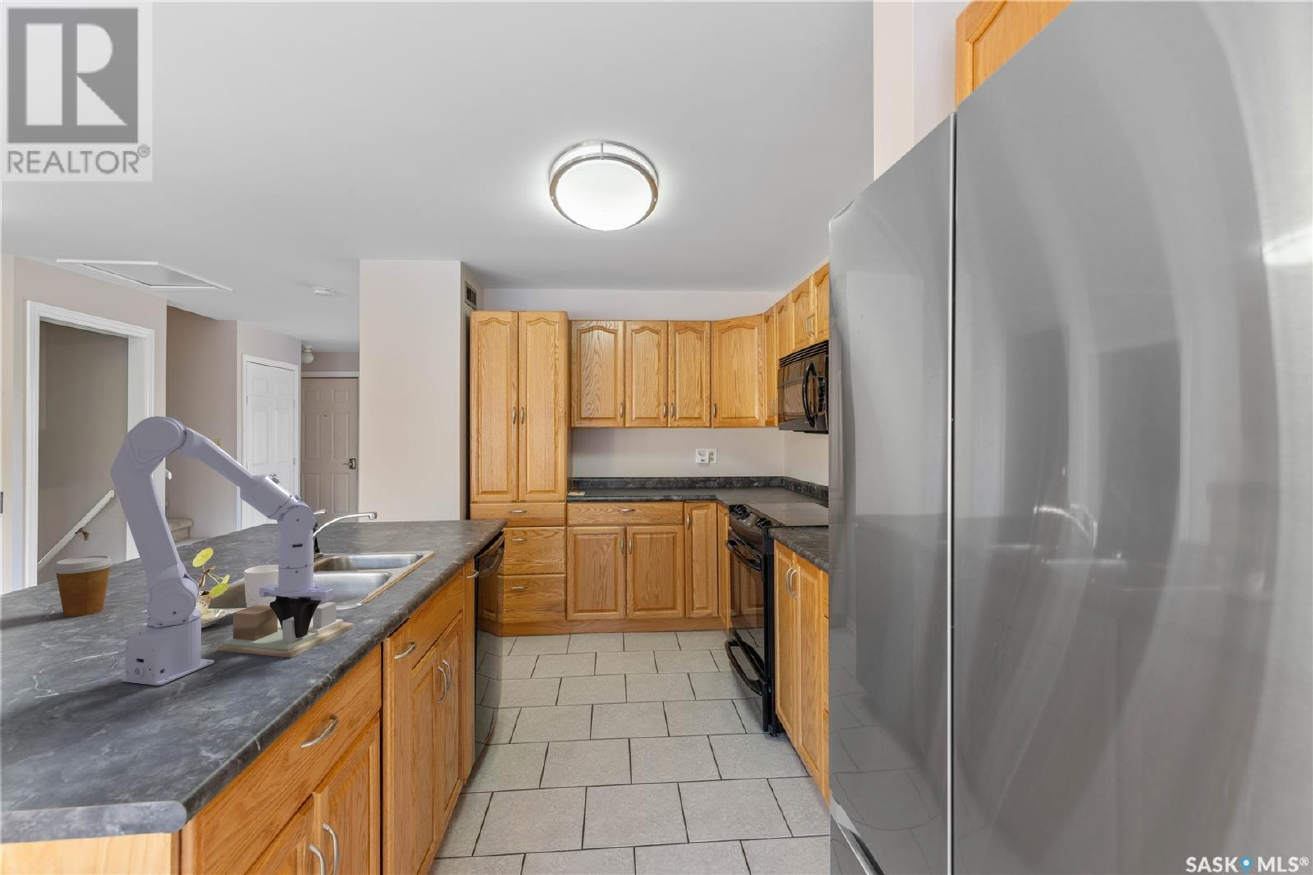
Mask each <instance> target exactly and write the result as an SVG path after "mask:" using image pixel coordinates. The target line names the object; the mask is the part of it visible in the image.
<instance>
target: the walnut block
mask: <svg viewBox="0 0 1313 875" xmlns="http://www.w3.org/2000/svg"><path fill="white" fill-rule="evenodd" d="M232 614H233V617H232V623H233V625H232V637H233V639H242V640H253V641H256V640H258V639H261V638H263V637H266V636H268V635H271V634H273V633H275V632H278V618H277V616H276V614H275V612H274V611H273V610H272V608H271V607H270V606H264V605H254V606H251V607H249V608H247V607H246V608H243V609H240V610H237V611H235V612H233V613H232Z"/></svg>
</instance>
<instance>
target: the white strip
mask: <svg viewBox="0 0 1313 875" xmlns="http://www.w3.org/2000/svg"><path fill="white" fill-rule="evenodd" d="M343 623H344V619H341V618H339V619H338V618H337V602H335V601H332V602H331V601H326V602H323V603H322V604H319V605H318V607H317V608H316V610H315V612H314V614H313V617H312V619H311V622H310V626H309V629H308V632H309V633H316V635H319V634H321V633H323V632H325V631H328V630H330V629H332V628H334V627H336V626H339V625H341V624H343ZM278 630H282V628H281V625H280V622H279V620H278Z"/></svg>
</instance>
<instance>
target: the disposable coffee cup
mask: <svg viewBox="0 0 1313 875" xmlns="http://www.w3.org/2000/svg"><path fill="white" fill-rule="evenodd" d="M113 563H114V561H113V560H112V559H111V556H110V555H101V554H100V555H86V556H79V557H76V556H75V557H72V558H71V557H70V558H65V559H61V560H58V561H56V562H55V564H54V567H53V568H52V570H53V571H54V573H55V575H56V580H57V586H58V592H59V596H60V602H61V603H60V604H61V607H62V612H63V616H64V617H68V618H69V617H82V616H87V615H93V614H96V613H98V612H101V611H103V610H104V605H105V600H106V593H107V588H108V582H109V580H108V579H109V575H110V570H111V567H112V564H113Z"/></svg>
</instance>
